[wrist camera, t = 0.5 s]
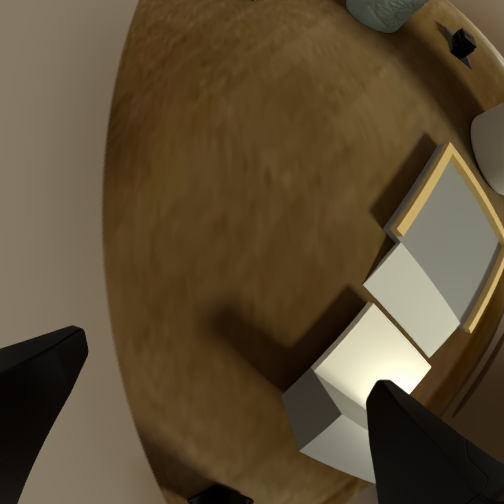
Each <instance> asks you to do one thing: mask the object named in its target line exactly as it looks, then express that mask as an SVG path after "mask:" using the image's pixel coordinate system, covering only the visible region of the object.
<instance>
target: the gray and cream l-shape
mask: <svg viewBox="0 0 504 504" xmlns="http://www.w3.org/2000/svg"><path fill="white" fill-rule="evenodd" d="M430 368H431V366H430V365H429V364H428V363H427V361H426V360H425V359H424V358H423V357H422V356H421V355H420V353H419V352H418V351H417V350H416V349H415V348H414V347H413V346H412V344H411V343H410V342H409V341H408V340H407V339H406V338H405V337H404V336H403V335H402V333H401V332H400V331H399V330H398V329H397V328H396V327H395V326H394V325H393V324H392V323H391V321H390V320H389V319H388V318H387V317H386V316H385V315H384V314H383V313H382V312H381V311H380V310H379V309H378V308H377V307H376V306H375V304H374V303H371V302H369V301H368V303H367V304H366V305H365V306H364V308H363V309H362V310H361V311H360V313H359V314H358V315H357V316H356V317H355V319H354V320H353V321H352V322H351V323H350V324H349V326H348V327H347V328H346V329H345V330H344V331H343V333H342V334H341V335H340V336H339V337H338V338H337V339H336V340H335V342H334V343H333V344H332V345H331V346H330V347H329V348H328V349H327V350H326V351H325V352H324V354H323V355H322V356H321V357H320V358H319V359H318V360H317V361H316V362H315V363H314V364H313V365H312V366H311V367H310V368H309V369H308V370H307V371H306V372H305V373H304V374H303V375H302V376H301V377H300V378H299V379H298V380H297V381H296V382H295V383H294V384H293V385H292V386H291V387H290V388H289V389H288V390H287V391H286V392H285V393H283V394H282V395H281V398H282V401H283V404H284V407H285V410H286V413H287V417H288V420H289V423H290V426H291V429H292V432H293V435H294V438H295V441H296V444H297V447H298V450H299V451H300V452H302V453H304V454H306V455H308V456H310V457H312V458H314V459H316V460H318V461H320V462H323V463H325V464H327V465H329V466H332V467H334V468H336V469H338V470H341V471H343V472H346V473H348V474H351V475H353V476H356V477H358V478H361V479H364V480H366V481H369V482H372V483H375V484H376V481H375V475H374V469H373V463H372V457H371V452H370V445H369V436H368V423H367V412H366V399H367V397H368V395H369V393H370V391H371V390H372V388H373V386H374V384H375V383H376V381H378V380H380V379H389V380H391V381H393V382H394V383H395V384H396V385H398V386H399V387H400V388H402V389H403V390H404V391H405V392H407V393H408V394H410V393H411V392H412V390H413V389H414V388H415V387H416V386H417V384H418V383H419V382H420V381H421V380H422V378H423V377H424V376H425V374H426V373H427V372H428V371H429V369H430Z"/></svg>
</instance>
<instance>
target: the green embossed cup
mask: <svg viewBox="0 0 504 504" xmlns="http://www.w3.org/2000/svg"><path fill="white" fill-rule="evenodd" d="M427 1H429V0H347V1H346V7H347V9H348V11H349V12H350V13H351V14H352V15H353V16H354V17H355V18H356V19H357V20H359V21H360V22H361V23H363V24H364V25H366V26H368V27H370V28H372V29H374V30H377V31H380V32H384V33H393V32H395V31H397V30H398V29H399V28H400V27H401V26H402V24H404V23H405V22H406V21H407V20H408V19H409V18H410V17H411V15H414V13H415V12H417V11H418V9H420V8H421V7H422V6H423V5H424V3H425V2H427Z"/></svg>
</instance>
